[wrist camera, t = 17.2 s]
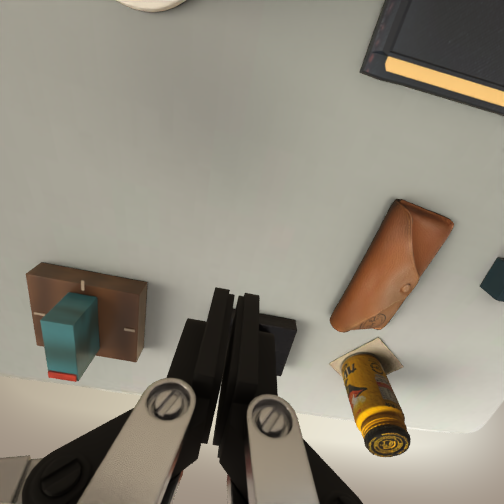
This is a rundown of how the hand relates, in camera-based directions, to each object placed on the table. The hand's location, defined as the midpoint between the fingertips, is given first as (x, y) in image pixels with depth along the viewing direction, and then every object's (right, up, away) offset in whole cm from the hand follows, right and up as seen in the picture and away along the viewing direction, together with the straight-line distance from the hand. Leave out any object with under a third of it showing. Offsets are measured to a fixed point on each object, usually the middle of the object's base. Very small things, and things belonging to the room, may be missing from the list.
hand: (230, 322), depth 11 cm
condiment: (+18, -14, +35) cm, 42 cm away
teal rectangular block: (-21, -7, +29) cm, 36 cm away
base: (-21, -5, +32) cm, 38 cm away
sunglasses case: (+18, 0, +27) cm, 33 cm away
